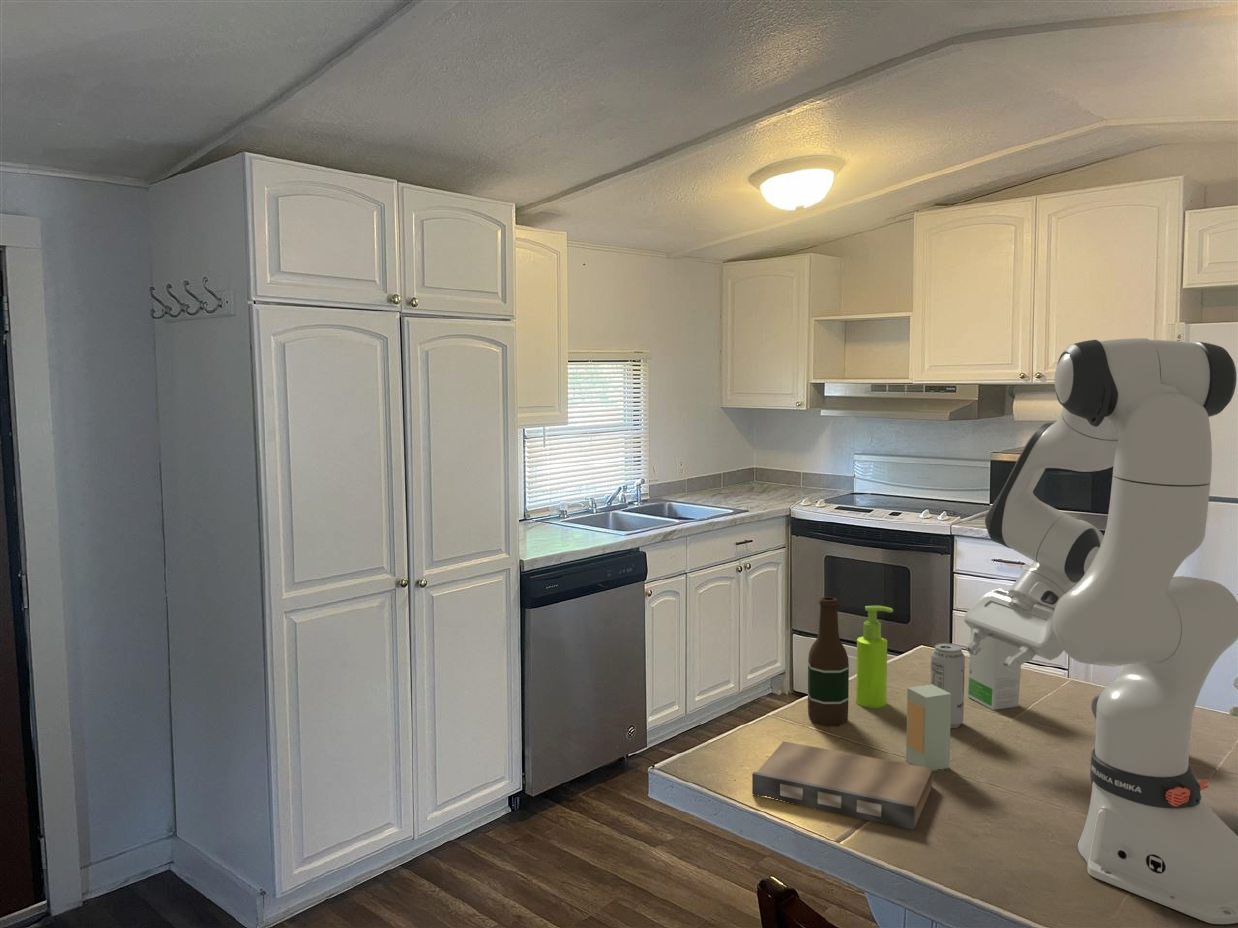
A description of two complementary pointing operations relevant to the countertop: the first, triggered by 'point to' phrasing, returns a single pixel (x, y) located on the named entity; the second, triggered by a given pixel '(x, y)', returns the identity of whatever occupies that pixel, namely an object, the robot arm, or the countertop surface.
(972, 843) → the countertop surface
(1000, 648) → the skincare box
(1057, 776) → the countertop surface
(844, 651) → the beer bottle
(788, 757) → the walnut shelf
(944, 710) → the sage carton
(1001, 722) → the countertop surface
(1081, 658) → the robot arm
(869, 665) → the soap dispenser
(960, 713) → the energy drink can
